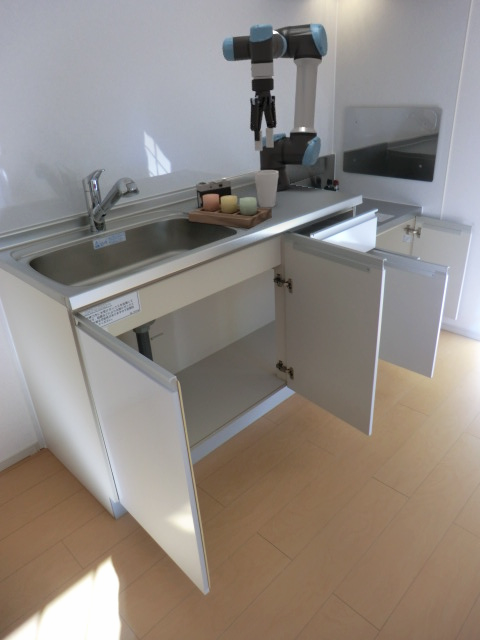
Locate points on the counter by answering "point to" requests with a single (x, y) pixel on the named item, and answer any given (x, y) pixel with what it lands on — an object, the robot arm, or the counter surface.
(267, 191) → the foam cup
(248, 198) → the pale green cylinder
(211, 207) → the pink short cylinder
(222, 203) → the yellow short cylinder
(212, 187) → the camera
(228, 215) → the walnut board
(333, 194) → the counter surface
